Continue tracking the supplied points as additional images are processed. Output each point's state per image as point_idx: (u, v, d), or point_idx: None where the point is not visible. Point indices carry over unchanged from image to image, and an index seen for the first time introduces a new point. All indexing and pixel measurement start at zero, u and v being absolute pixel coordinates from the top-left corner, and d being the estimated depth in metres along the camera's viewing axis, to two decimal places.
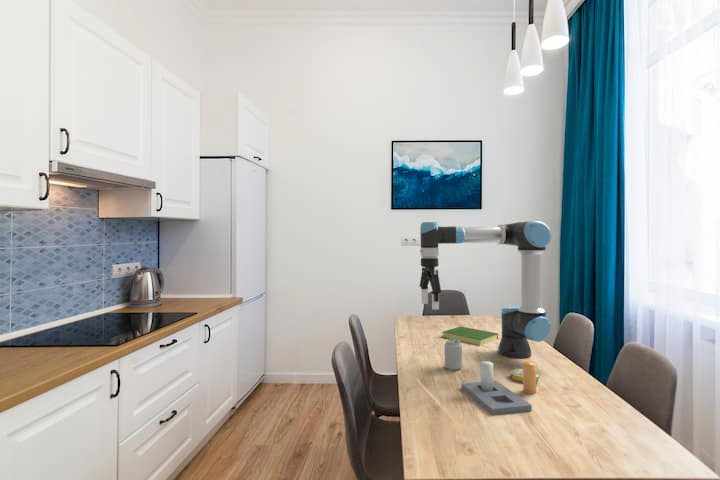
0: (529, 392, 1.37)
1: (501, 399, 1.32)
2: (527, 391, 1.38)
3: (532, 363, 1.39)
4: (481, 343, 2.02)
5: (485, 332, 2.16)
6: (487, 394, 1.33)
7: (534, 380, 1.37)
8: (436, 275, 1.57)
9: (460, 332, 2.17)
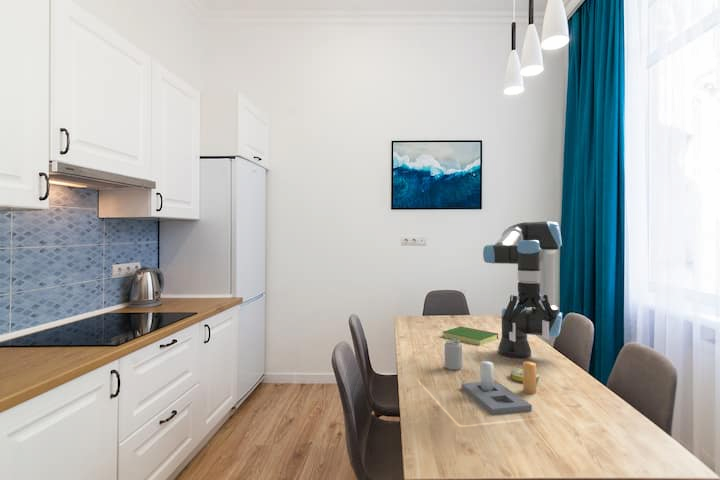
0: (529, 392, 1.37)
1: (501, 399, 1.32)
2: (527, 391, 1.38)
3: (532, 363, 1.39)
4: (481, 343, 2.02)
5: (485, 332, 2.16)
6: (487, 394, 1.33)
7: (534, 380, 1.37)
8: (512, 302, 1.37)
9: (460, 332, 2.17)
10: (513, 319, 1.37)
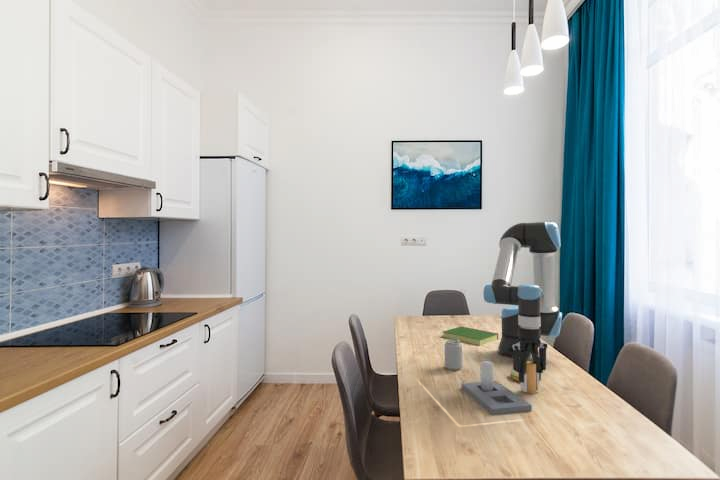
0: (529, 392, 1.37)
1: (501, 399, 1.32)
2: (527, 391, 1.38)
3: (532, 363, 1.39)
4: (481, 343, 2.02)
5: (485, 332, 2.16)
6: (487, 394, 1.33)
7: (534, 380, 1.37)
8: (515, 352, 1.38)
9: (460, 332, 2.17)
10: (523, 369, 1.38)
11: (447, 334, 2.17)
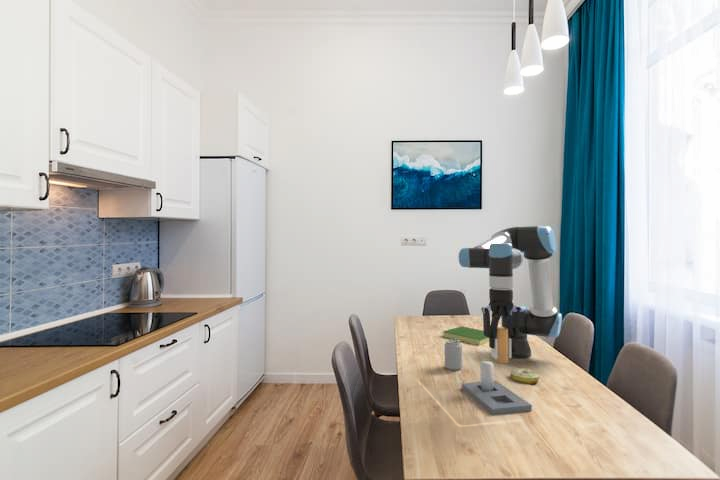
0: (500, 359, 1.26)
1: (501, 399, 1.32)
2: (498, 358, 1.27)
3: (504, 328, 1.28)
4: (480, 343, 2.02)
5: None
6: (487, 394, 1.33)
7: (506, 346, 1.26)
8: (485, 315, 1.27)
9: (460, 332, 2.17)
10: (494, 334, 1.27)
11: (447, 334, 2.17)
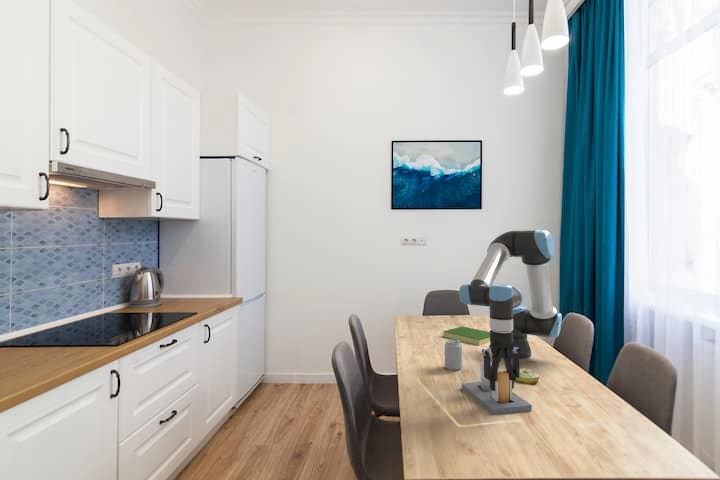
0: None
1: None
2: (499, 403, 1.27)
3: (504, 372, 1.28)
4: (480, 343, 2.02)
5: (486, 332, 2.16)
6: (487, 394, 1.33)
7: (506, 391, 1.26)
8: (486, 357, 1.27)
9: (460, 332, 2.17)
10: (494, 376, 1.27)
11: (447, 334, 2.17)
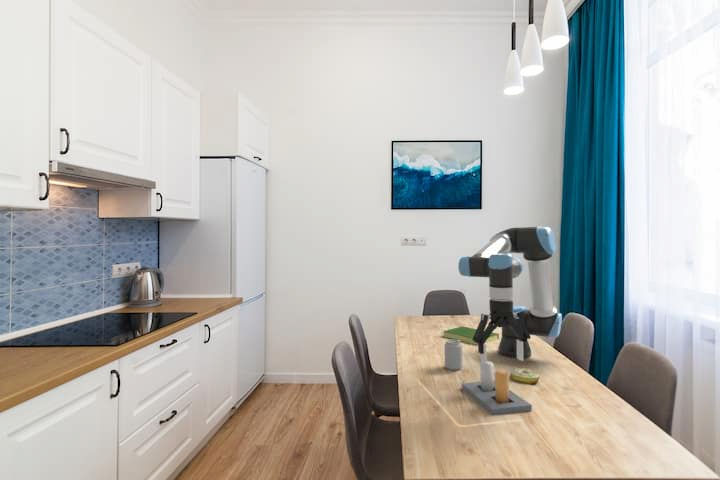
0: None
1: None
2: (499, 402, 1.27)
3: (504, 372, 1.28)
4: None
5: None
6: (487, 394, 1.33)
7: (506, 390, 1.27)
8: (482, 321, 1.27)
9: (460, 332, 2.17)
10: (484, 340, 1.26)
11: (447, 334, 2.18)
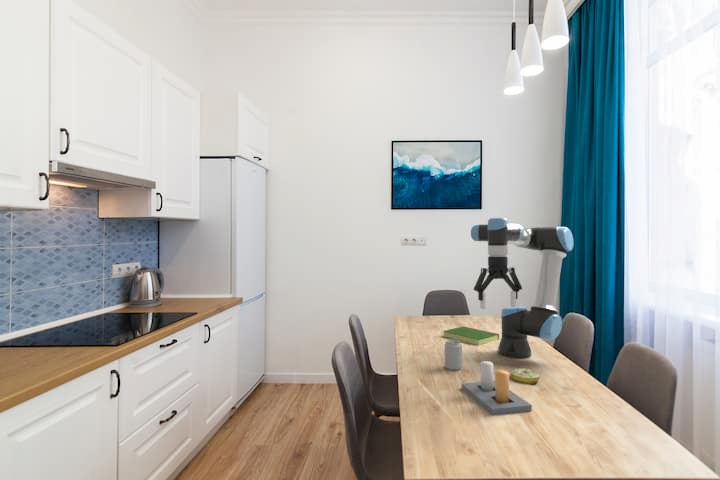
0: (501, 403, 1.27)
1: None
2: (499, 402, 1.27)
3: (504, 372, 1.28)
4: (479, 343, 2.02)
5: (486, 332, 2.15)
6: (487, 394, 1.33)
7: (506, 390, 1.27)
8: (482, 273, 1.53)
9: (461, 332, 2.17)
10: (483, 289, 1.52)
11: (447, 334, 2.18)
